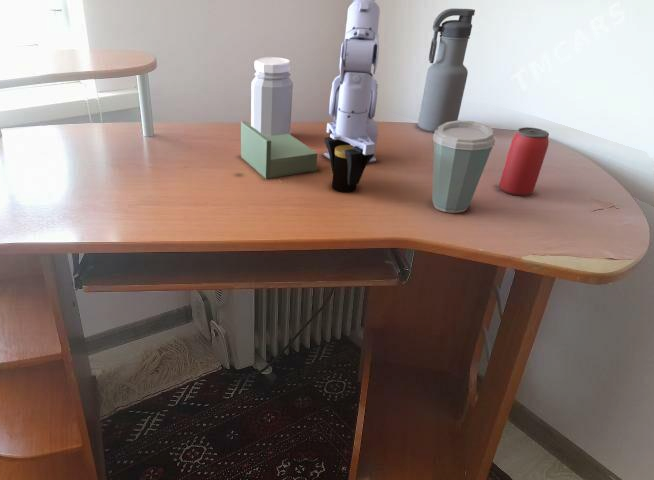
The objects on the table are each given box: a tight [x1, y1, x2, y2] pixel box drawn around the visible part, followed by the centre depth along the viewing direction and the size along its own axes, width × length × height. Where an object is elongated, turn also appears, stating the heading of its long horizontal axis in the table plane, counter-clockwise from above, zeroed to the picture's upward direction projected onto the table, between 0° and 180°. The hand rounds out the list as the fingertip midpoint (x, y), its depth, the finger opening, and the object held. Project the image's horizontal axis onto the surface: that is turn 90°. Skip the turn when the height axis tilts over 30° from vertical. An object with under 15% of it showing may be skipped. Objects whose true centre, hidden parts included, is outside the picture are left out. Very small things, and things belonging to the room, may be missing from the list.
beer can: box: [498, 127, 550, 197], centre depth 107 cm, size 7×7×12 cm
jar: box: [250, 56, 294, 137], centre depth 131 cm, size 10×10×18 cm
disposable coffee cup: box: [432, 119, 496, 214], centre depth 100 cm, size 11×11×15 cm
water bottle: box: [417, 8, 476, 133], centre depth 137 cm, size 10×10×28 cm
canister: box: [331, 145, 358, 193], centre depth 108 cm, size 5×5×8 cm
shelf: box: [240, 121, 319, 180], centre depth 119 cm, size 12×14×8 cm
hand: (345, 178), depth 109 cm, fingers open, 6 cm apart
